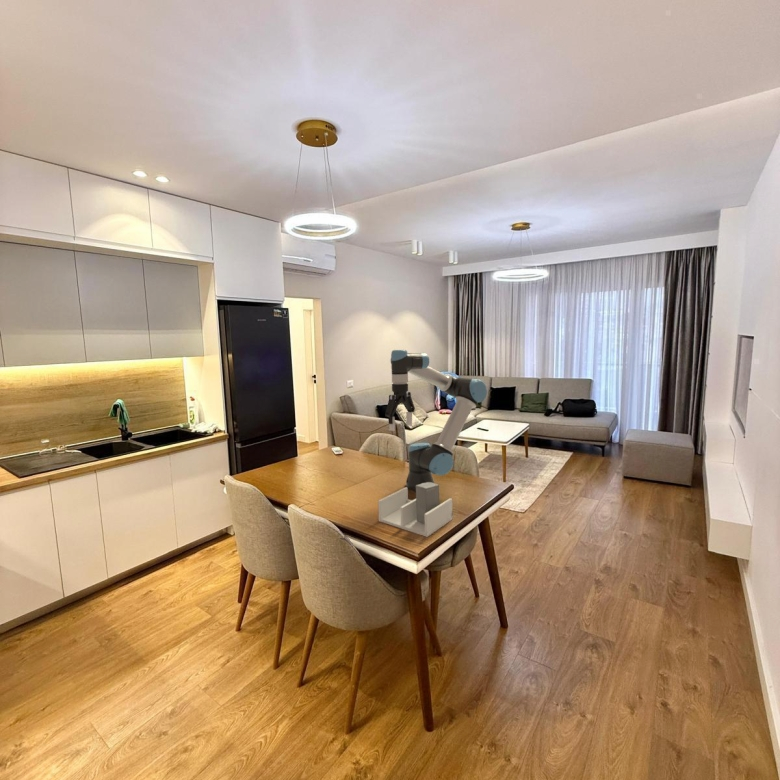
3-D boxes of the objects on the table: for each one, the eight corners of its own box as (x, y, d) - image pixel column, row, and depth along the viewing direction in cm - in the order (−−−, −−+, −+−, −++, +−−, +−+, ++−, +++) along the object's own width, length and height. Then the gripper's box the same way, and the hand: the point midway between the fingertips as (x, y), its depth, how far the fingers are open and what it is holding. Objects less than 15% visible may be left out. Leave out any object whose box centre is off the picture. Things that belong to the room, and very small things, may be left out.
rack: (405, 505, 192) (405, 487, 191) (452, 519, 177) (452, 498, 176) (378, 521, 177) (378, 500, 176) (427, 536, 161) (427, 514, 160)
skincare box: (426, 526, 168) (426, 489, 166) (415, 520, 173) (414, 484, 172) (441, 520, 173) (440, 484, 171) (429, 515, 179) (428, 480, 177)
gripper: (408, 380, 201) (409, 422, 204) (376, 385, 182) (377, 432, 184) (421, 381, 197) (422, 424, 199) (389, 386, 177) (390, 434, 180)
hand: (400, 428), depth 192 cm, fingers open, 13 cm apart
